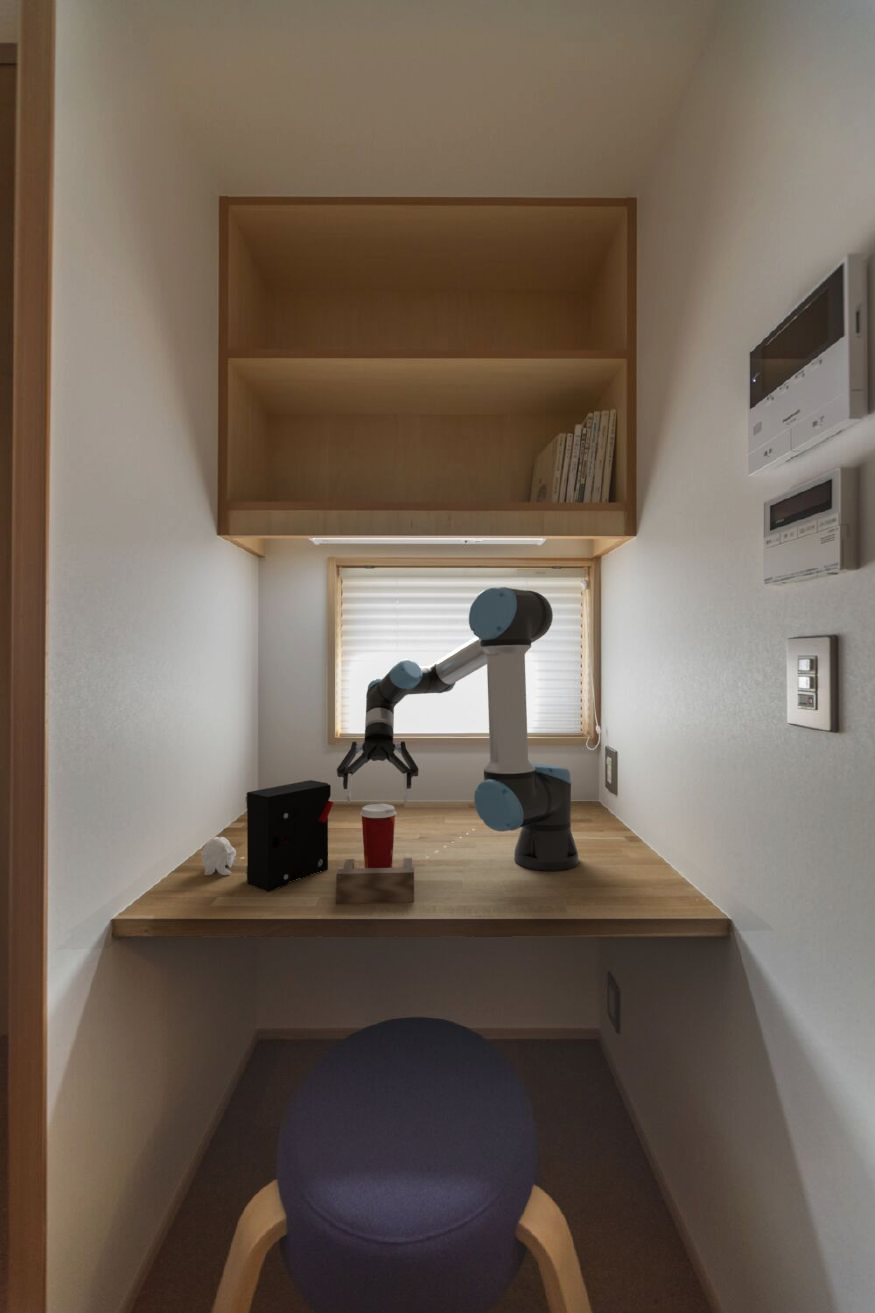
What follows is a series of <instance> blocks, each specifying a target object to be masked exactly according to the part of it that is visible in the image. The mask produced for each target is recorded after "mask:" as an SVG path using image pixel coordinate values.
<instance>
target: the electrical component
mask: <svg viewBox="0 0 875 1313" xmlns="http://www.w3.org/2000/svg"><path fill="white" fill-rule="evenodd" d="M331 788H332V787H331V784H329V783H328V782H323V781H317V780H314V779H312V780H311V779H309V780H303V781H299V782H293V783H289V784H283V785H278V786H272V787H266V788H262V789H256V790H251V791H247V792H246V795H245V802H246V811H247V817H246V819H247V822H246V823H247V824H246V826H247V827H246V829H247V832H246V833H247V834H246V835H247V836H246V839H247V840H246V841H247V842H246V843H247V845H246V848H247V852H246V854H247V856H246V858H247V859H246V860H247V863H246V864H247V866H246V869H245V875H246V883H247V885H248V886H251V885H252V886H251V887H253V886H255V887H254V888H256V887H257V888H256V889H259V890H261V889H262V891H264V890H265V892H267V893H269V891H270V892H272V891H275V890H277V889H276V888H278V887H280V888H282V887H281V886H283V887H285V886H284V885H286V886H287V885H289V883H291V882H290V881H292V882H294V881H293V880H295V881H297V880H296V879H298V878H301V879H303V878H307V877H309V875H310V876H312V875H311V874H313V875H315V874H314V873H316V874H318V873H317V872H319V873H321V872H320V871H322V872H325V871H327V870H329V815H330V812H331V809H332V807H333V804H334V802H333V801H330V798H331V795H332V794H331V793H332V792H331ZM306 876H307V877H306ZM298 880H299V879H298ZM274 889H275V890H274ZM278 889H279V888H278Z"/></svg>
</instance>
